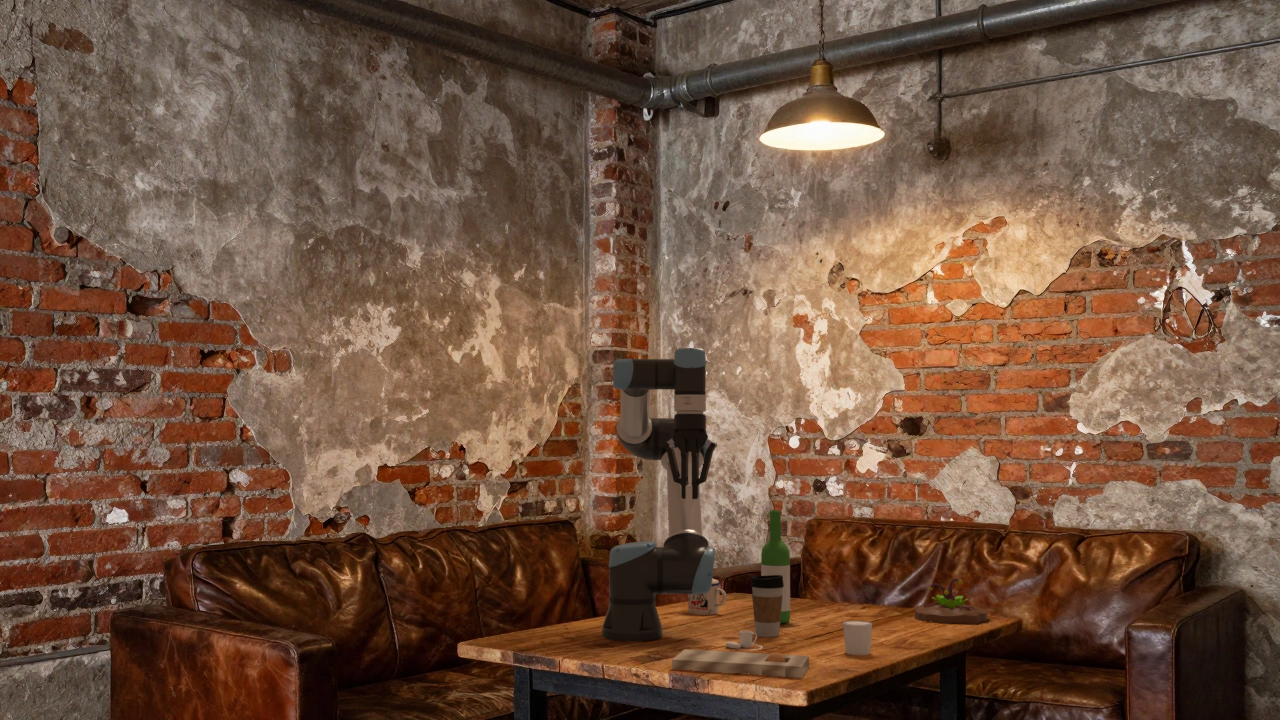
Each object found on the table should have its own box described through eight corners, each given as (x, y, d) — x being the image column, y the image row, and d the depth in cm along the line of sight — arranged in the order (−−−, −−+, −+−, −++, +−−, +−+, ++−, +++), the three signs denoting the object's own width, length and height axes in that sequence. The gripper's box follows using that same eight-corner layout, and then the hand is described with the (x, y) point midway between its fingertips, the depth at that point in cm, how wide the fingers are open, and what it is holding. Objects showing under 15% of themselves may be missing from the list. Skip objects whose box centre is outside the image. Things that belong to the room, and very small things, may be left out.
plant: (988, 626, 311) (988, 583, 311) (913, 622, 316) (913, 581, 316) (986, 614, 330) (986, 575, 331) (916, 611, 335) (915, 572, 336)
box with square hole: (672, 671, 250) (672, 659, 250) (684, 660, 261) (684, 649, 261) (801, 678, 242) (801, 666, 243) (808, 667, 254) (808, 655, 254)
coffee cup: (782, 638, 289) (782, 578, 289) (748, 637, 290) (748, 577, 291) (785, 633, 297) (785, 574, 298) (752, 631, 298) (752, 573, 299)
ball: (767, 647, 252) (782, 649, 249) (776, 658, 253) (791, 660, 251) (760, 663, 249) (775, 665, 247) (769, 674, 251) (783, 676, 248)
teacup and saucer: (725, 651, 273) (725, 634, 274) (726, 645, 281) (726, 628, 281) (763, 652, 272) (762, 635, 273) (762, 646, 280) (762, 629, 281)
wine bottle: (776, 618, 319) (775, 509, 321) (796, 622, 313) (795, 511, 315) (755, 621, 315) (755, 510, 317) (775, 625, 309) (775, 512, 310)
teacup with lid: (681, 613, 327) (681, 572, 328) (698, 609, 335) (698, 569, 336) (717, 617, 320) (717, 575, 321) (734, 613, 328) (734, 572, 329)
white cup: (852, 649, 276) (851, 619, 276) (878, 652, 271) (877, 622, 272) (837, 653, 270) (837, 622, 271) (863, 656, 266) (863, 626, 266)
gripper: (659, 412, 273) (659, 513, 271) (713, 412, 269) (713, 514, 268) (667, 413, 280) (667, 511, 278) (720, 413, 276) (720, 512, 275)
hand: (690, 513), depth 273 cm, fingers closed
